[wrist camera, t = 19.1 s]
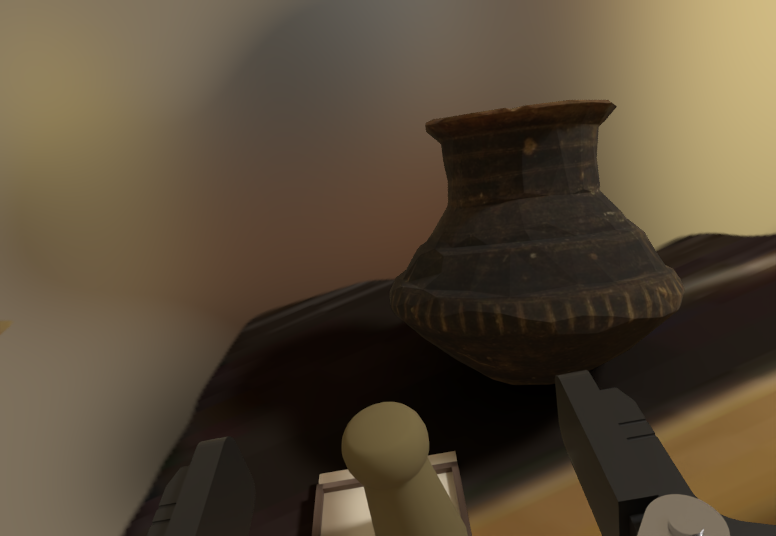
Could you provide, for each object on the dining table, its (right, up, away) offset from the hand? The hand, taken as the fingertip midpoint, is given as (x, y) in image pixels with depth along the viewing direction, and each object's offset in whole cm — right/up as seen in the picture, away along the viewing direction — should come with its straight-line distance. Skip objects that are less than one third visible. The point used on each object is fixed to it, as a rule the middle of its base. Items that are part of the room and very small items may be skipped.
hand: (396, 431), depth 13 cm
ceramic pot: (+14, -5, +39) cm, 42 cm away
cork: (+2, -14, +23) cm, 27 cm away
